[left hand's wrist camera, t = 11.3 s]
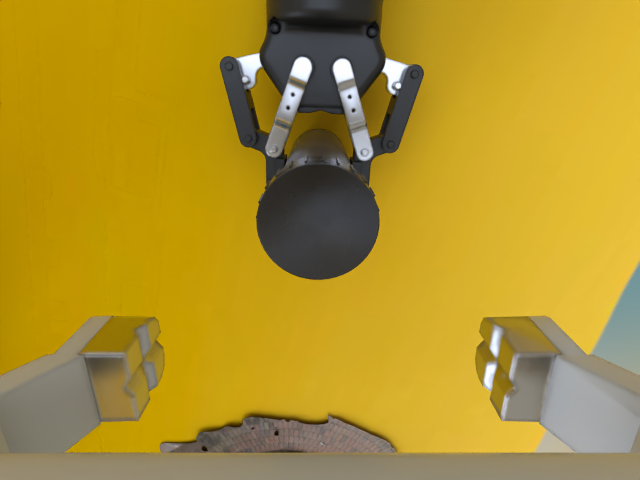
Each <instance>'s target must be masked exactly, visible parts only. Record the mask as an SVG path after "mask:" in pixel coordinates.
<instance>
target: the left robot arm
mask: <svg viewBox="0 0 640 480" xmlns="http://www.w3.org/2000/svg"><path fill="white" fill-rule="evenodd" d="M160 332H161V331H160V326H159V322H158V320H157V319H156V318H155V317H135V316H94V317H90V318H89V319H88V320H87V321H86V322H85V323H84V324H83V325H82V326H81V327H80V328H79V329H78V330H77V331H76V332H75V333H74V334H73V335H72V336H71V337H70V338H69V339H68V340H67V341H66V342H65V343H64V344H63V345H62V346H61V347H60V348H59V349H58V350H57V351H56V352H55V353H54V354H53V355H45V356H43V357H40V358H38V359H36V360H34V361H32V362H29V363H27V364H25V365H23V366H21V367H18V368H16V369H14V370H12V371H9V372H7V373H5V374H3V375H1V376H0V480H640V376H639V375H637V374H635V373H633V372H630V371H628V370H626V369H624V368H622V367H619V366H617V365H615V364H613V363H611V362H608V361H606V360H604V359H602V358H599V357H597V356H595V355H587V354H586V353H585V352H584V351H583V350H582V349H581V348H580V347H579V346H578V345H577V344H576V343H575V342H574V341H573V340H572V339H571V338H570V337H569V336H568V335H567V334H566V333H565V332H564V331H563V330H562V329H561V328H560V327H559V326H558V325H557V324H556V323H555V322H554V321H553V320H552V319H551V318H549V317H547V316H524V317H487V318H483V320H482V322H481V326H480V331H479V332H480V334H481V336H482V337H483V339H484V340H483V341H482V342H481V344H480V345H479V346H478V347H477V349H476V357H475V362H476V371H477V374H478V377H479V380H480V382H481V383H482V385H483V386H484V387H485V388H487V389H488V390H490V391H491V396H490V400H491V402H492V404H493V406H494V408H495V409H496V411H497V413H498V415H499V417H500V419H501V420H502V421H529V422H540V423H539V424H541V425H542V426H543V427H544V428H546V429H547V430H548V431H549V432H551V433H552V434H553V435H554V436H556V437H557V438H558V439H559V440H561V441H562V442H563V443H565V444H566V445H567V446H568V447H570V448H571V449H572V450H573V451H575V452H576V453H64V452H66V451H67V450H68V449H69V448H71V447H72V446H73V445H74V444H76V443H77V442H78V441H79V440H81V439H82V438H83V437H84V436H86V435H87V434H88V433H90V432H91V431H92V430H93V429H95V428H96V427H97V426H98V425H100V422H111V421H138V420H139V419H140V417H141V415H142V413H143V411H144V409H145V408H146V406H147V404H148V402H149V400H150V396H149V391H150V390H152V389H153V388H155V387H156V386H157V385H158V383H159V381H160V379H161V378H162V374H163V370H164V361H165V355H164V349H163V347H162V346H161V345H160V344H159V342H158V341H157V340H156V339H157V337H158V336H159V334H160Z"/></svg>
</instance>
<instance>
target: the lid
mask: <svg viewBox="0 0 640 480" xmlns="http://www.w3.org/2000/svg"><path fill="white" fill-rule="evenodd" d="M265 189H266V190H265V192H264V194H262V196H261V198H260V200H259V202H258V203H259V207H258V211H257V216H256V218H257V220H256V221H257V231H258V236H259V239H260V242H261V244H262V246H263V248H264V250H265V251H266V253H267V254H268V256H269V257H270V258H271V259H272V260H273V262H275V263H276V264H277V265H278V266H279V267H281V268H282V269H283V270H285V271H287V272H289V273H291V274H293V275H295V276H298V277H302V278H306V279H313V280H322V279H330V278H334V277H338V276H340V275H343V274H345V273H347V272H349V271H351V270H352V269H354V268H355V267H357V266H358V265H359V264H360V263H361V262H362V261H363V260H364V259H365V258H366V257H367V256H368V254H369V253H370V251H371V250H372V248H373V246H374V244H375V242H376V239H377V236H378V231H379V212H378V211H379V208H378V206H377V204H376V201H375V198H374V196H375V194H374V192H373V190H372V189H371V187H370V188H369V187H368V185H367V181H366V179H365V177H364V176H363V175H360V174H359V173H358V172H357V171H356V170H355V169H354V168H353V165H348V164H346V163H345V162H343V161H340V160H339V158H336V159H335V158H331V157H325V156H323V155H322V154H321V156H311V157H308V155H306V156H305V158H301V159H298V160H296V161H293V160H292V161H290V164H288V165H286V166H285V167H283V168H282V169H281V170H280V169H278V171H277V173H276V175H275V176H274V177H273V178H272V180H271V181H270V180H269V181H268V183H267V185H266V187H265Z"/></svg>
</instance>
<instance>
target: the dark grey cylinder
mask: <svg viewBox="0 0 640 480" xmlns="http://www.w3.org/2000/svg"><path fill="white" fill-rule="evenodd" d="M321 154H322V155H323V156H325V157H331V158H335V159H336V158H339V160H340V161H343V162H345V163H346V164H348V165H351V164H350V162H349V159H348V157H347V154H346V152H345V149H344V147H343V145H342V143H341V141H340V140H339V138H338V137H337V136H336V135H334V134H333V133H331V132H329V131H327V130H324V129H313V130H309V131H307V132H305V133H303V134H302V135H301V136H300V137H299V138H298V139H297V140H296V141H295V143H294V145H293V148H292V150H291V152H290V155H289V157H288V160H287V162H286V164H285V166H286V165H288V164H290V161H292V160H293V161H296V160H298V159H301V158H305V156H306V155H308V157H311V156H321Z"/></svg>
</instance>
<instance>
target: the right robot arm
mask: <svg viewBox="0 0 640 480" xmlns="http://www.w3.org/2000/svg"><path fill="white" fill-rule="evenodd" d="M382 3H383V0H267V32H266V37H265V40H264V42H263V44H262V46H261V48H260V52H259V53H256V54H252V55H248V56H243V57H239V58H233V57H230V56H227V57H224V58H223V59H222V60H221V62H220V69H221V73H222V76H223V80H224V84H225V87H226V91H227V95H228V98H229V102H230V106H231V109H232V113H233V117H234V121H235V124H236V128H237V132H238V135H239V139H240V142H241V144H242V145H243V146H245V147H251V148H254V149H256V150H259V151H261V152H262V153H263V154H264V155H265V158H266V184H267V183H268V181H269V180H270V181H271V180H272V178H273V177H274V176H275V175H276V173H277V171H278V169H280V170H281V169H282V168H283V167H285V164H286V162H287V154H284V147H285V144H286V142H287V139H288V136H289V134H290V131H291V128H292V126H293V123H294V121H295V118H296V115H297V112H299V113H311V112H315V111H319V110H322V111H325V112H328V113H331V114H343V115H344V118H345V122H346V125H347V128H348V131H349V135H350V138H351V142H352V145H353V157H350V164H351V165H353V168H354V169H355V170H356V171H357V172H358V173H359V174H360V175H363V176H364V177H365V179H366V181H367V185H368V187H369V177H370V165H371V162H372V160H373V159H374V158H375V157H376V156H378V155H381V154H384V153H393V152H395V151H396V150H397V149H398V147H399V144H400V142H401V139H402V136H403V133H404V130H405V127H406V124H407V122H408V119H409V116H410V113H411V110H412V107H413V104H414V102H415V99H416V96H417V93H418V90H419V87H420V84H421V81H422V79H423V75H424V72H423V69H422V67H421V66H419V65H416V64H415V65H406V64H403V63H400V62H397V61H394V60H390V59H387V58H386V56H385V52H384V50H383V47H382V44H381V40H380V28H381V16H382ZM262 68H264V70H265V71H266V73H267V75H268V76H269V78H270V79H271V81H272V82H273V84H274V85H275V87H276V88H277V90H278V91H279V93H280V94H281V96H282V99H281V102H280V105H279V108H278V111H277V114H276V116H275V120H274V124H273V127H272V129H271V132H270V134H269V133H266V132H264V131H262V130H260V127H259V123H258V119H257V115H256V111H255V107H254V103H253V99H252V95H251V91H250V89H252V88H254V87H255V86H256V84H257V74H258V72H259V70H260V69H262ZM380 73H382V74H383V75H384V76H385V78H386V90H387V92H388V93H389V94H391V95H392V97H391V100H390V103H389V106H388V109H387V112H386V115H385V118H384V121H383V124H382V127H381V130H380V133H379V135H376V136H373V137H369V133H368V130H367V124H366V120H365V116H364V112H363V109H362V105H361V101H360V99H361V98H362V97H363V95H364V94H365V93H366V91H367V90H368V89H369V88H370V86H371V85H372V84H373V82H374V81H375V80H376V79H377V77H378V76H379V75H380Z"/></svg>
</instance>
